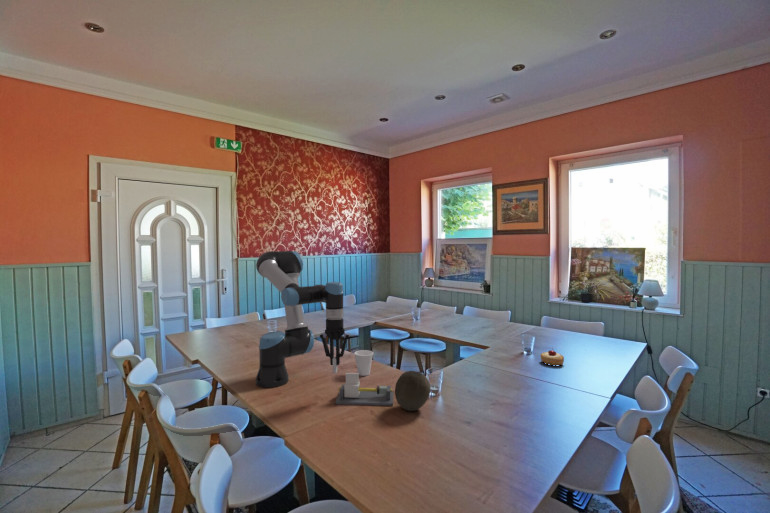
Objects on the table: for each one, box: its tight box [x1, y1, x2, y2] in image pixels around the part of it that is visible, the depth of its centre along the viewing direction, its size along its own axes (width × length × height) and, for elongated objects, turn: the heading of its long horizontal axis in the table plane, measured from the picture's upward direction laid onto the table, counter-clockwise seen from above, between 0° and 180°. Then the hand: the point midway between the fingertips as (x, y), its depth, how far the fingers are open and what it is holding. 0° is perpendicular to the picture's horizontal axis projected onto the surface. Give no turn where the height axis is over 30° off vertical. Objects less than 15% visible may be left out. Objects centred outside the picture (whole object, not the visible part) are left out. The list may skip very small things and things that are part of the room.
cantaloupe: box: [394, 370, 431, 412], centre depth 145 cm, size 14×14×15 cm
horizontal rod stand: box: [334, 384, 395, 407], centre depth 154 cm, size 24×12×6 cm, turn 87°
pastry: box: [540, 348, 565, 366], centre depth 201 cm, size 12×12×9 cm
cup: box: [353, 349, 374, 377], centre depth 184 cm, size 10×10×11 cm
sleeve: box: [344, 372, 361, 398], centre depth 155 cm, size 6×5×10 cm
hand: (335, 372), depth 155 cm, fingers closed
